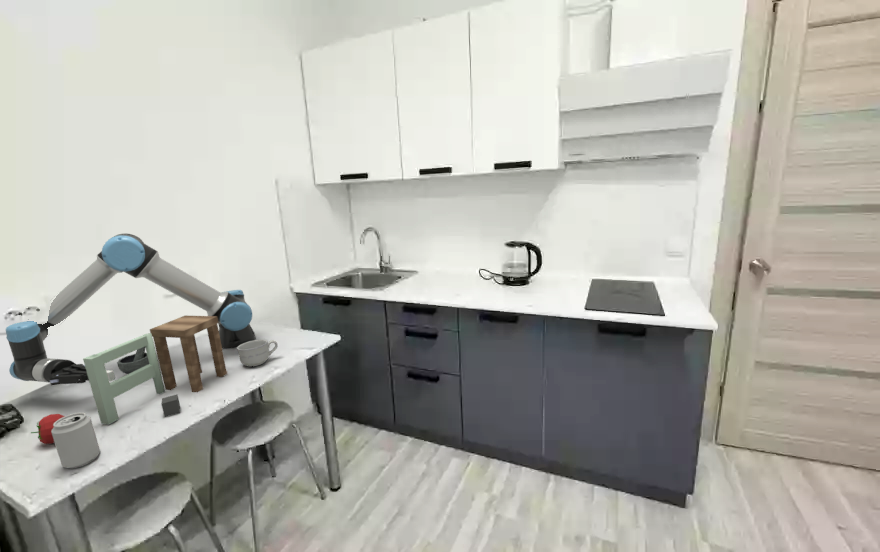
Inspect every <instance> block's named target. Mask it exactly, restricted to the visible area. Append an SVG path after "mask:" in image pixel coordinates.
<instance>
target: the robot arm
mask: <svg viewBox="0 0 880 552" xmlns="http://www.w3.org/2000/svg"><path fill="white" fill-rule="evenodd" d="M120 273H122V274H123V273H126V274H127V275H129V276H131V277H132V278H135V279H139V278H145V279H146V280H148V281H150V282H152V283H154V284H155V285H157V286H159V287H161V288H163V289H165V290H166V291H168V292H170V293H172V294H174V295H175V296H177V297H179V298H182V299H184V300H185V301H186V302H189V303H191V304H192V305H194V306H196V307H198V308H199V309H202V310H204V311H206V314H207V316H217V318H218V324H217V325H218V330H219V335H220V340H221V346H222V349H235V348H236V349H237V347H238V346H239V345H241V344H243V343H246V342H249V341H253V340H257V337H256V333H255V331H254V328H252V326H251V322H252V319H253V310H252V309H251V308H252V307H251V306H250V305H249V304H248V303H247V301H246V299H245V294H244V292H243V290H241V289H232V290H226V291H222V292H221V291H219V290H216V289H215V288H213V287H211V286H210V285H208V284H206V283H205V282H203V281H201V280H200V279H197V278H196V277H194V276H192V275H191V274H190V273H187V272H186V271H184V270H182V269H180V268H179V267H176V266H175V265H174V264H172V263H170V262H168V261H166V260H164V259H163V258H161V257H160V254H159V252H158V250H156V249H155V248H153V247H151V246H149V245H148V244H146V243H144V241H143V239H141V238H140V237H138V236H137V235H134V234H131V233H120V234H116V235H114V236H112V237H110V238H109V239H108V240H107V241H105V242H104V244H103V245H102V248H101V251H100V252H99V253H98V254H96V259H95V261H93V263H91V264H90V265H89V266H88V267H87V268H85V270H83V271H82V272H81V273H80V274H79V275H78V276H76V277H75V278H74V279H73V280H72V281H71V282H70V283H68V284H67V285H66V286H64V288H63V289H62V290H61V291H60V292H59V294H58V293H57V294H58V295H57V294H56V295H57V296H56V295H55V296H56V298H55V299H54V300H53V302H52V303H51V306H50V310H49V316H48V321H47V323H45V324H43V325H42V324H37V322H34V321H27V320H26V321H21V322H16V323H12V324H10V325H8V326H6V328H5V334H6V340H7V341H8V344H9V348H10V351H11V354H12V357H13V361H12V363H10V367H9V374H10V375H11V377H12V378H15V379H17V380H21V381H24V382H30V381H31V382H39V383H41V382H43V383H50V385H51V386H56V385H67V384H69V385H71V384H84V383H86V382H87V381H88V382H89V378H88V375H87V371H86V368H85V364H83V363H76V362H74V361H73V360H71V359H61V358H49V357H48V355H47V352H46V349H45V348H46V347H45V345H44V341H45V340H46V338H47V337H48V336H49V335H48V329H47V328H48V327H50V326H54V325H56V324H58V323H60V322H61V321H63V320H64V319H65V320H66V318H67V317H68V316H69V317H70V316H71V315H72V314H74V313H75V311H77V310H78V309H79V308H80V307H81V306H82V305H83V304H84V303H85V302H86V301H87V300H89V299H90V298H91V297H92V296H93V295H94V294H96V293H97V292H98V291H99V290H100V289H101V288H102V287H103V286H104V285H106V283H108V282H109V281H110V280H111V279H113V277H115V276H116V275H117V274H120ZM69 317H68V318H69ZM68 318H67V319H68ZM65 320H64V321H65ZM64 321H63V322H64ZM47 335H48V336H47ZM106 372H107V376H108V379H109V382H113V381H115V380H116V376H115V375H116V374H115V372H114V370H110V369H109V370H107V369H106ZM89 384H90V382H89Z"/></svg>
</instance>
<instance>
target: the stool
mask: <svg viewBox="0 0 880 552" xmlns="http://www.w3.org/2000/svg"><path fill="white" fill-rule="evenodd" d="M204 330H206V331H207V336H208V341H209V346H210V351H211V355H212V360H213V367H214V371H215V375H216V378H223V377H225V376H226V375H228V371H227V366H226V362H225V356H224V350H223V348H222V346H221V340H220V335H219V325H218V318H217V316H208V315H183V316H180V317H178V318H174V319H173V320H170V321H167V322H165V323H162V324H160V325H157V326H155V327H152V328H150V329H149V332H150V333H151V334H152V338H153V342H154V346H155V350H156V355H157V359H158V363H159V367H160V372H161V376H162V380H163V384H164V388H165V391H172V390H174V389H176V388H177V387H178V386H177V385H178V384H177V381H176V377H175V370H174V367H173V363H172V360H171V353H170V350H169V345H168V341H167V338H173V339H174V338H177V339H178V338H179V341H180V344H181V345H180V346H181V349H182V353H183V359H184V364H185V368H186V372H187V377H188V381H189V382H188V383H189V385H190V391H191V392H192V393H200V392H201V391H203V390H204V386H203V380H202V377H201V374H202V373H203V370H202V366H201V361H200V356H199V351H198V345H197V342H196V336H195V334H198V333H200V332H202V331H204ZM224 375H225V376H224Z"/></svg>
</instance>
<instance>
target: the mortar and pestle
mask: <svg viewBox="0 0 880 552" xmlns="http://www.w3.org/2000/svg"><path fill="white" fill-rule="evenodd" d="M116 364H117V367H118V369H119V371H120V372H122V373H123V374H126V375H128V374H130V373H132V372H134V371H136V370H138V369H140V368H142V367H144V366H146V365H148V364H149V360H148V356H147V352H146V348H145V346H144V347H142V348H140V349H138V350H135V353H134V354H130V355H125V356H123V357H122V358H120V359H119V358H118V360H117V362H116ZM149 365H150V364H149Z"/></svg>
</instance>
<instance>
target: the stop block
mask: <svg viewBox="0 0 880 552" xmlns="http://www.w3.org/2000/svg"><path fill="white" fill-rule="evenodd" d="M178 395H179V394H177V393H176V394H173V395H169V396H166V397H165V396H164V397H161V409H162V412H163V417H164V418H167V417H172V416H175V415H178V414H181V404H180V399H179V396H178Z"/></svg>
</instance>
